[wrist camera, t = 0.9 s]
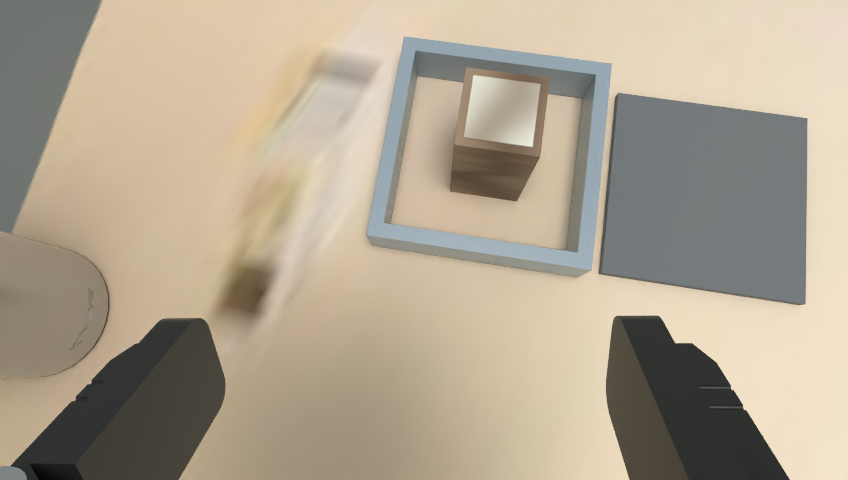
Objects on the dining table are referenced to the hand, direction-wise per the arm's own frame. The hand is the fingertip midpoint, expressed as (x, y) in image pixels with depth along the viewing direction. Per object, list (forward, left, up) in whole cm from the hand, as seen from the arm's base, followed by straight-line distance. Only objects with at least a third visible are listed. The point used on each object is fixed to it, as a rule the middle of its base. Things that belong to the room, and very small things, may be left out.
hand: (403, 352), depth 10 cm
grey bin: (+2, +14, -27) cm, 31 cm away
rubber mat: (+18, +15, -27) cm, 36 cm away
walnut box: (+2, +14, -27) cm, 31 cm away
